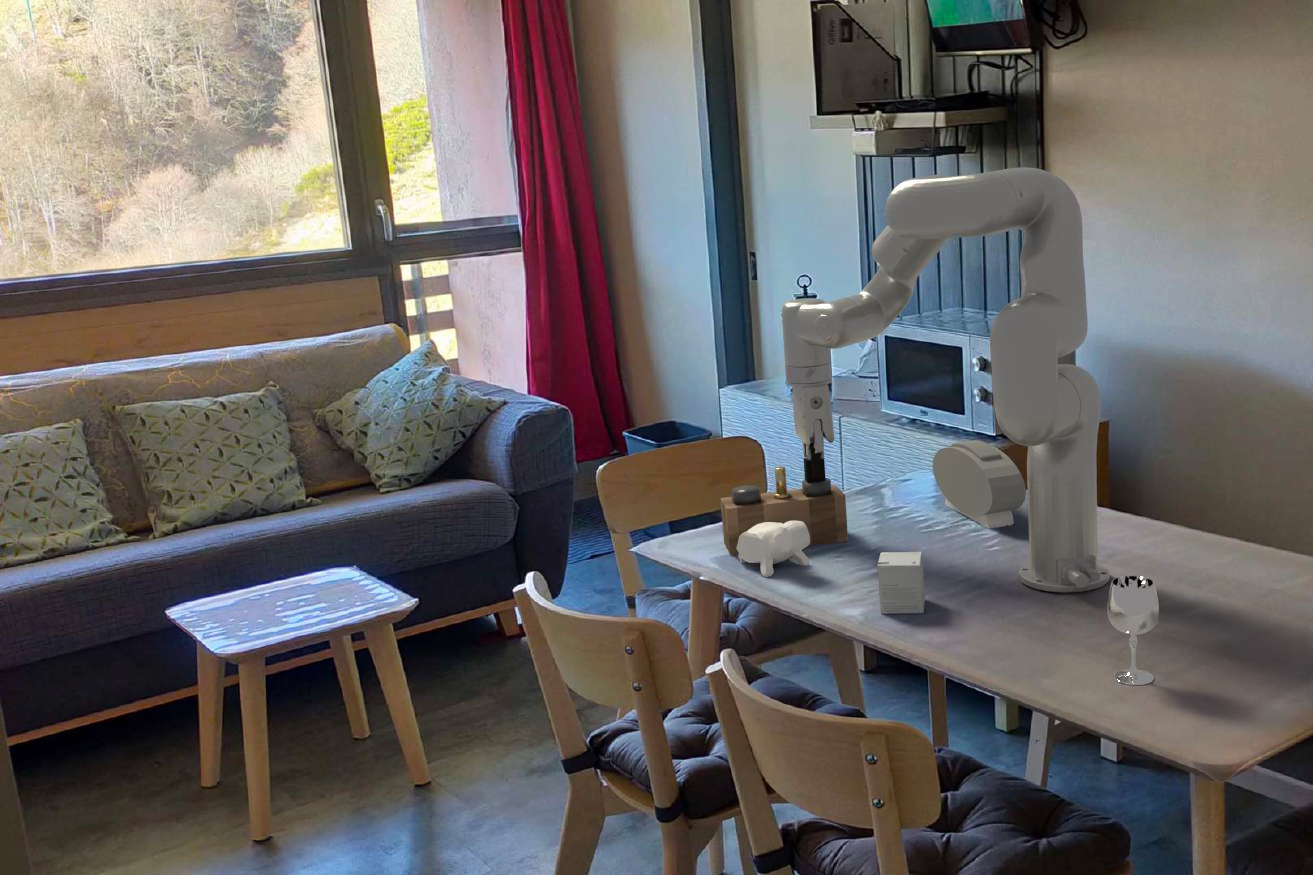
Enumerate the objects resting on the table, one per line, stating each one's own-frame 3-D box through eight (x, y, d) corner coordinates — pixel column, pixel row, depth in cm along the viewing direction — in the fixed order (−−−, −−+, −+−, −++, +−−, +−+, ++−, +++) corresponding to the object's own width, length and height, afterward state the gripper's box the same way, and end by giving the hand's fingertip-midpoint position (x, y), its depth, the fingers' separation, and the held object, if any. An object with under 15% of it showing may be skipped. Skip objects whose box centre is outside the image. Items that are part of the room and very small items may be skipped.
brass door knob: (792, 497, 214) (790, 469, 213) (774, 499, 213) (772, 471, 212) (789, 493, 217) (786, 464, 216) (771, 495, 216) (769, 466, 215)
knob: (836, 534, 215) (833, 483, 213) (808, 537, 214) (805, 486, 213) (830, 526, 219) (827, 476, 218) (802, 530, 219) (799, 479, 217)
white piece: (739, 584, 207) (787, 571, 194) (724, 533, 208) (772, 518, 195) (781, 571, 211) (832, 558, 198) (767, 522, 212) (816, 506, 199)
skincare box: (925, 599, 185) (923, 550, 183) (923, 614, 179) (921, 564, 177) (882, 599, 186) (880, 551, 184) (879, 614, 180) (876, 564, 179)
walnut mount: (848, 541, 214) (845, 495, 212) (730, 555, 213) (726, 508, 211) (838, 529, 221) (835, 484, 219) (724, 542, 219) (720, 498, 218)
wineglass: (1107, 685, 151) (1105, 589, 148) (1109, 666, 156) (1107, 573, 154) (1159, 688, 149) (1159, 591, 146) (1159, 669, 154) (1158, 574, 152)
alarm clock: (1028, 529, 212) (1025, 454, 209) (993, 534, 211) (991, 459, 208) (965, 496, 234) (962, 428, 231) (934, 501, 233) (930, 432, 230)
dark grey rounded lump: (766, 542, 214) (762, 491, 212) (738, 546, 214) (733, 494, 212) (761, 534, 219) (757, 484, 217) (733, 538, 218) (729, 487, 216)
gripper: (841, 379, 204) (847, 490, 208) (821, 364, 219) (827, 468, 223) (795, 384, 204) (802, 495, 208) (777, 369, 218) (784, 473, 222)
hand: (815, 481), depth 215 cm, fingers closed
